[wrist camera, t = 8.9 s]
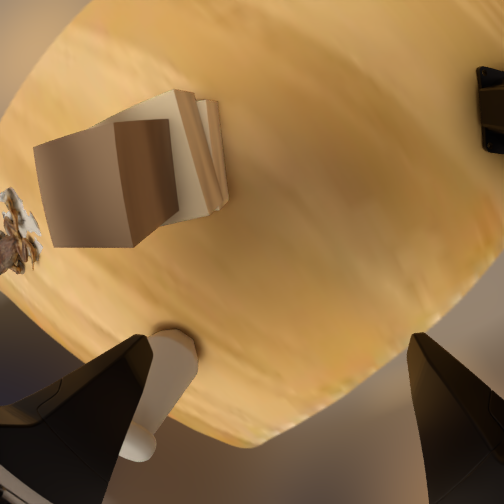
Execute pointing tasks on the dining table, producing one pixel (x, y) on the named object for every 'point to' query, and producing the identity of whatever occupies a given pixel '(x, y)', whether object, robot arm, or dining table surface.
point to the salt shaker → (160, 390)
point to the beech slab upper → (182, 151)
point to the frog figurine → (17, 234)
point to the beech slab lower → (214, 143)
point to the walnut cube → (107, 184)
